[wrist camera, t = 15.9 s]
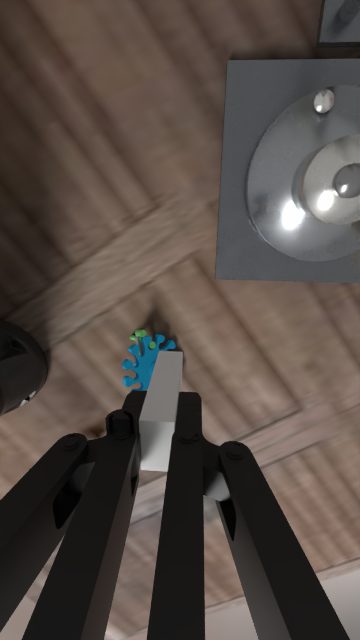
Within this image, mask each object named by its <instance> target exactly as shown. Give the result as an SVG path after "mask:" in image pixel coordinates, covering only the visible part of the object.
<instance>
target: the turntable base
mask: <svg viewBox="0 0 360 640" xmlns="http://www.w3.org/2000/svg"><path fill="white" fill-rule="evenodd" d="M340 85H352V86H359V87H360V59H287V60H228V61H227V69H226V87H225V104H224V122H223V140H222V158H221V176H220V194H219V212H218V230H217V248H216V266H215V279H228V280H266V281H304V282H342V283H360V249H359V250H357V251H356V252H353V253H351V254H349V255H347V256H344V257H341V258H338V259H333V260H328V261H317V262H316V261H305V260H300V259H296V258H293V257H290V256H288V255H286V254H284V253H282V252H280V251H278V250H276V249H275V248H273V247H272V246H270V245H269V244H268V243H267V242H266V241H265V240H264V239H263V238H262V237H261V235H260V234H259V233H258V231H257V230H256V228H255V226H254V224H253V222H252V220H251V217H250V215H249V211H248V207H247V201H246V178H247V172H248V168H249V164H250V161H251V158H252V155H253V152H254V150H255V148H256V146H257V144H258V142H259V141H260V139H261V138H262V136H263V134H264V133H265V131H266V130H267V129H268V128H269V127H270V125H271V124H272V123H273V122H274V120H275V119H276V118H277V117H278V116H279V115H280V114H281V113H282V112H283V111H284V110H285V109H286V108H288V107H289V106H290V105H292V104H293V103H294V102H296V101H297V100H299V99H300V98H302V97H304V96H306V95H307V94H310V93H312V92H315V91H317V90H319V89H323V88H327V87H331V86H340Z"/></svg>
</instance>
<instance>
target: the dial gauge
mask: <svg viewBox="0 0 360 640" xmlns="http://www.w3.org/2000/svg"><path fill="white" fill-rule="evenodd" d="M316 47H360V0H322V6H321V13H320V20H319V27H318V34H317V42H316Z"/></svg>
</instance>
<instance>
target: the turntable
mask: <svg viewBox="0 0 360 640" xmlns="http://www.w3.org/2000/svg"><path fill="white" fill-rule="evenodd" d="M352 134H360V87H359V86H352V85H340V86H331V87H327V88H323V89H319V90H317V91H315V92H312V93H310V94H307V95H306V96H304V97H302V98H300V99H299V100H297V101H296V102H294V103H293V104H292V105H290V106H289V107H288V108H286V109H285V110H284V111H283V112H282V113H281V114H280V115H279V116H278V117H277V118H276V119H275V120H274V122H273V123H272V124H271V125H270V127H269V128H268V129H267V130H266V131H265V133H264V134H263V136H262V138H261V139H260V141H259V142H258V144H257V146H256V148H255V150H254V152H253V155H252V158H251V161H250V164H249V168H248V172H247V178H246V201H247V207H248V211H249V215H250V217H251V220H252V222H253V224H254V226H255V228H256V230H257V231H258V233H259V234H260V235H261V237H262V238H263V239H264V240H265V241H266V242H267V243H268V244H269V245H270V246H272V247H273V248H275V249H276V250H278V251H280V252H282V253H284V254H286V255H288V256H290V257H293V258H296V259H300V260H305V261H316V262H317V261H328V260H333V259H338V258H341V257H344V256H347V255H349V254H351V253H353V252H356V251H357V250H359V249H360V220H358V221H356V222H353V223H350V224H344V225H336V224H329V223H322V222H316V221H312V220H309V219H307V218H305V217H304V216H302V215H301V214H300V213H299V212H298V210H297V209H296V207H295V205H294V203H293V200H292V195H291V185H292V180H293V177H294V174H295V172H296V170H297V168H298V166H299V165H300V163H301V162H302V161H303V160H304V158H305V157H306V156H308V155H309V154H310V153H311V152H313V151H314V150H316V149H318V148H320V147H322V146H324V145H326V144H328V143H330V142H332V141H335V140H337V139H339V138H341V137H344V136H347V135H352Z"/></svg>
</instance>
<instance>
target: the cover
mask: <svg viewBox="0 0 360 640" xmlns="http://www.w3.org/2000/svg"><path fill="white" fill-rule="evenodd" d="M291 195H292V200H293V203H294V205H295V207H296V209H297V210H298V212H299V213H300V214H301V215H302V216H304V217H305V218H307V219H309V220H312V221H316V222H322V223H329V224H336V225H344V224H350V223H353V222H356V221H358V220H360V134H352V135H347V136H344V137H341V138H339V139H337V140H335V141H332V142H330V143H328V144H326V145H324V146H322V147H320V148H318V149H316V150H314V151H313V152H311V153H310V154H309V155H308V156H306V157H305V158H304V160H303V161H302V162H301V163H300V165H299V166H298V168H297V170H296V172H295V174H294V177H293V180H292V185H291Z"/></svg>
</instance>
